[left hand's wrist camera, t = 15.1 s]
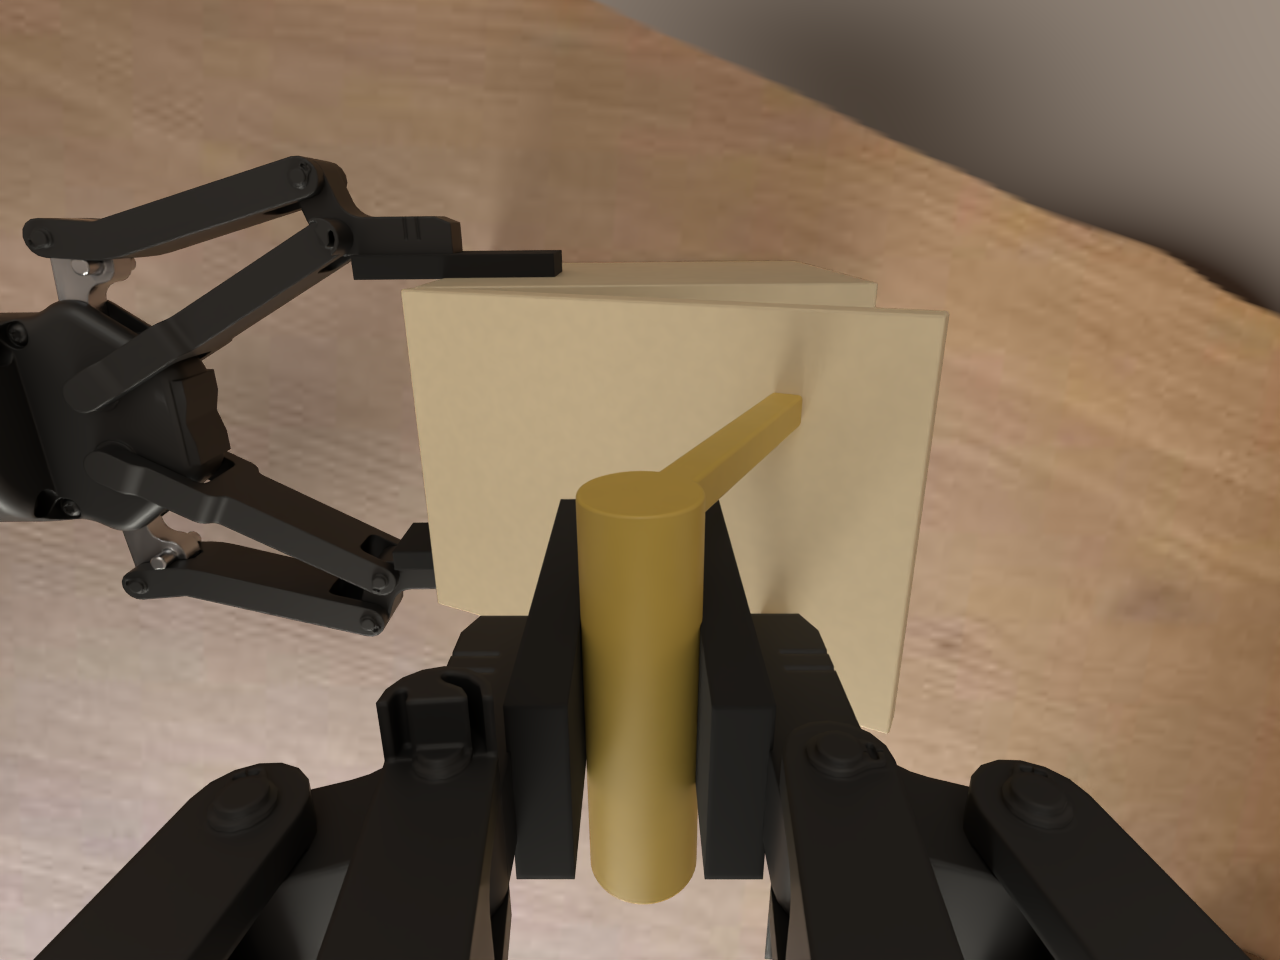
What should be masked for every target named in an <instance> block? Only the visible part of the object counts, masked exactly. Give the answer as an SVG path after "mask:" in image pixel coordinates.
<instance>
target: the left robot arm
mask: <svg viewBox="0 0 1280 960" xmlns="http://www.w3.org/2000/svg"><path fill="white" fill-rule="evenodd" d="M376 707H377V713H378V720H379V726H380V733H381V739H382V746H383V752H384V759H385V762H384V765H383V768H381V769H379V770H377V771H375V772H373V773H371V774H369V775H366V776H362V777H359V778H356V779H353V780H349V781H345V782H341V783H337V784H332V785H328V786H324V787H320V788H315V789H311V788H310V783H309V779H308V778H307V777H306V776H305V774H304V773H303V772H302V771H301V770H300V769H299V768H297V767H294V766H290V765H287V764H284V763H259V764H256V765H252V766H248V767H245V768H241V769H237V770H234V771H232V772H230V773H228V774H226V775H224V776H222V777H220V778H218V779H216V780H214V781H212V782H210V783H209V784H208V785H207V786H205V787H204V788H203V789H202V790H200V791H199V792H198V793H197V794H195V795H194V796H193V797H192V798H190V799H189V800H188V801H187V802H186V804H185V805H184V806H183V807H182V808H181V809H180V810H179V811H178V812H177V813H176V814H175V815H174V816H173V817H172V818H171V819H170V820H169V821H168V822H167V823H166V824H165V825H164V826H163V827H162V828H161V829H160V830H159V831H158V832H157V833H156V834H155V835H154V836H153V837H152V838H151V839H150V840H149V841H148V843H147V844H146V845H145V846H144V847H143V848H142V849H141V850H140V851H139V852H138V853H137V854H136V855H135V856H134V857H133V858H132V859H131V860H130V861H129V862H128V863H127V864H126V865H125V866H124V867H123V868H122V869H121V870H120V871H119V872H118V873H117V874H116V875H115V876H114V877H113V878H112V879H111V880H110V882H109V883H108V884H107V885H106V886H105V887H104V888H103V889H102V890H101V891H100V892H99V893H98V894H97V895H96V896H95V897H94V898H93V899H92V900H91V901H90V902H89V903H88V904H87V905H86V906H85V907H84V908H83V909H82V910H81V911H80V912H79V913H78V914H77V915H76V916H75V917H74V918H73V919H72V921H71V922H70V923H69V924H68V925H67V926H66V927H65V928H64V929H63V930H62V931H61V932H60V933H59V934H58V935H57V936H56V937H55V938H54V939H53V940H52V941H51V942H50V943H49V944H48V945H47V946H46V947H45V948H44V949H43V950H42V951H41V952H40V953H39V954H38V955H37V956H36V957H35V958H34V960H508V950H509V939H510V927H511V916H512V914H511V902H510V891H509V881H510V876H511V871H512V865H513V860H514V855H515V864H516V877H517V879H575V871H576V861H577V850H578V840H579V830H580V820H581V809H582V799H583V789H584V779H585V768H586V736H585V712H584V688H583V664H582V640H581V616H580V592H579V568H578V544H577V520H576V499H560V503H559V507H558V510H557V514H556V517H555V521H554V524H553V528H552V532H551V535H550V539H549V542H548V546H547V550H546V553H545V557H544V560H543V564H542V567H541V571H540V575H539V578H538V582H537V585H536V589H535V592H534V596H533V600H532V603H531V607H530V610H529V614H528V616H480V617H479V618H477V619H476V620H475V621H474V622H473V623H472V624H471V625H469V626H468V627H467V628H466V629H465V630H464V631H462V632H461V634H460V636H459V639H458V641H457V643H456V646H455V648H454V650H453V656H451V657H450V660H449V662H448V664H447V666H443V667H437V668H431V669H425V670H421V671H418V672H416V673H413V674H411V675H408V676H406V677H403V678H401V679H400V680H398V681H397V682H396V683H394V684H393V685H391V686H390V687H388V688H387V689H386V690H385V691H384V693H383V694H382V695H381V697H380V698H379V700H378V701H377V702H376ZM695 785H696V795H697V805H698V815H699V826H700V836H701V846H702V856H703V866H704V877H705V879H763V870H764V857H765V855H766V860H767V865H768V870H769V875H770V880H771V891H770V902H769V914H768V926H767V938H766V949H765V959H772V960H1263V959H1261V958H1260V957H1257V956H1255V955H1253V954H1250V953H1247V952H1244V951H1242V950H1241V949H1240V948H1239V947H1238V946H1237V945H1236V944H1235V943H1234V942H1233V941H1232V940H1231V939H1230V938H1229V937H1228V936H1227V935H1226V934H1225V933H1224V932H1223V931H1222V930H1221V929H1220V928H1219V927H1218V925H1217V924H1216V923H1215V922H1214V921H1213V920H1212V919H1211V918H1210V917H1209V916H1208V915H1207V914H1206V913H1205V912H1204V911H1203V910H1202V909H1201V908H1200V907H1199V906H1198V905H1197V904H1196V903H1195V902H1194V901H1193V900H1192V899H1191V898H1190V897H1189V896H1188V895H1187V894H1186V893H1185V892H1184V891H1183V890H1182V889H1181V888H1180V887H1179V886H1178V885H1177V884H1176V883H1175V882H1174V881H1173V880H1172V879H1171V878H1170V877H1169V876H1168V875H1167V873H1166V872H1165V871H1164V870H1163V869H1162V868H1161V867H1160V866H1159V865H1158V864H1157V863H1156V862H1155V861H1154V860H1153V859H1152V858H1151V857H1150V856H1149V855H1148V854H1147V853H1146V852H1145V851H1144V850H1143V849H1142V848H1141V847H1140V846H1139V845H1138V844H1137V843H1136V842H1135V841H1134V840H1133V839H1132V838H1131V837H1130V836H1129V835H1128V834H1127V833H1126V832H1125V831H1124V830H1123V829H1122V828H1121V827H1120V826H1119V825H1118V824H1117V823H1116V822H1115V820H1114V819H1113V818H1112V817H1111V816H1110V815H1109V814H1108V813H1107V812H1106V811H1105V810H1104V809H1103V808H1102V807H1101V806H1100V805H1099V804H1098V803H1097V802H1096V801H1095V800H1094V799H1093V798H1092V797H1091V796H1090V795H1089V794H1088V793H1086V792H1085V791H1084V790H1083V789H1081V788H1080V787H1079V786H1077V785H1076V784H1075V783H1074V782H1072V781H1071V780H1070V779H1068V778H1066V777H1064V776H1062V775H1060V774H1058V773H1056V772H1054V771H1052V770H1050V769H1048V768H1046V767H1043V766H1039V765H1036V764H1032V763H1028V762H1025V761H1021V760H996V761H993V762H989V763H986V764H983V765H981V766H980V767H979V768H978V769H977V770H976V771H975V773H974V774H973V775H972V776H971V780H970V785H969V787H968V786H964V785H960V784H955V783H951V782H947V781H943V780H938V779H934V778H930V777H926V776H923V775H920V774H917V773H913V772H910V771H908V770H906V769H904V768H902V767H900V766H898V765H897V764H896V761H895V759H894V758H893V756H892V754H891V753H890V751H889V750H888V748H887V746H886V745H885V744H883V743H882V742H881V741H880V740H878V739H877V738H876V737H875V736H873V735H872V734H871V733H869V732H867V731H865V730H862V729H861V728H860V725H859V723H858V721H857V718H856V716H855V714H854V711H853V709H852V707H851V704H850V702H849V700H848V698H847V695H846V693H845V691H844V688H843V686H842V684H841V681H840V679H839V677H838V674H837V672H836V671H834V665H833V663H832V660H831V658H830V656H829V654H827V649H826V647H825V644H824V642H823V640H822V637H821V635H820V633H819V630H817V629H816V628H815V627H814V626H813V625H812V624H810V623H809V622H808V621H807V620H806V619H805V618H803V617H802V616H801V615H800V614H799V613H750V609H749V606H748V602H747V598H746V595H745V591H744V588H743V584H742V581H741V577H740V573H739V570H738V566H737V563H736V559H735V555H734V552H733V548H732V545H731V541H730V538H729V534H728V530H727V527H726V523H725V520H724V516H723V512H722V509H721V505H720V502H719V500H718V501H717V502H716V503H715V504H713V505H712V506H711V507H710V508H709V509H708V510H707V511H706V512H705V541H704V580H703V618H702V623H701V625H700V648H699V680H698V712H697V744H696V776H695Z"/></svg>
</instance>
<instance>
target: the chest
mask: <svg viewBox="0 0 1280 960" xmlns="http://www.w3.org/2000/svg"><path fill="white" fill-rule="evenodd" d="M877 286H878V285H877V283H876V282H872V281H868V280H865V279H861V278H857V277H853V276H850V275H846V274H842V273H839V272H835V271H831V270H827V269H824V268H820V267H816V266H813V265H809V264H805V263H801V262H797V261H712V262H595V263H562V272H561V273H560V274H558V275H557V276H556V277H522V278H443V279H440V280H437V281H433V282H430V283H427V284H424V285H421V286H418V287H429V288H451V289H473V290H495V291H518V292H540V293H562V294H584V295H607V296H629V297H651V298H673V299H695V300H718V301H740V302H762V303H784V304H807V305H829V306H851V307H873V308H875V305H876V295H877ZM418 287H416V288H418Z"/></svg>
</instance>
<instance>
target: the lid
mask: <svg viewBox="0 0 1280 960" xmlns="http://www.w3.org/2000/svg"><path fill="white" fill-rule="evenodd" d="M401 296H402V305H403V313H404V321H405V330H406V338H407V347H408V355H409V363H410V372H411V380H412V388H413V397H414V405H415V414H416V422H417V430H418V439H419V447H420V455H421V464H422V472H423V481H424V489H425V497H426V506H427V514H428V523H429V531H430V539H431V548H432V556H433V564H434V573H435V581H436V590H437V598H438V603H439V604H442V605H446V606H449V607H452V608H456V609H459V610H463V611H466V612H470V613H473V614H477V615H480V616H528V614H529V610H530V607H531V603H532V600H533V596H534V592H535V589H536V585H537V582H538V578H539V575H540V571H541V567H542V564H543V560H544V557H545V553H546V550H547V546H548V542H549V539H550V535H551V532H552V528H553V524H554V521H555V517H556V514H557V510H558V507H559V503H560V499H576V520H577V544H578V568H579V592H580V616H581V640H582V664H583V688H584V712H585V736H586V760H587V784H588V808H589V832H590V855H591V867H592V871H593V873H594V876H595V878H596V879H597V881H598V882H599V884H600V885H601V886H602V887H603V888H604V889H605V890H606V891H607V892H608V893H609V894H611V895H612V896H614V897H616V898H618V899H620V900H622V901H625V902H629V903H634V904H653V903H658V902H662V901H664V900H667V899H669V898H671V897H673V896H675V895H676V894H677V893H679V892H680V891H681V890H682V889H683V888H684V887H685V886H686V885H687V884H688V882H689V881H690V879H691V877H692V875H693V873H694V871H695V867H696V855H697V816H698V805H697V795H696V785H695V776H696V744H697V712H698V680H699V648H700V625H701V623H702V618H703V580H704V541H705V512H706V511H707V510H708V509H709V508H710V507H711V506H712V505H713V504H715V503H716V502H717V501H718V500H719V502H720V505H721V509H722V512H723V516H724V520H725V523H726V527H727V530H728V534H729V538H730V541H731V545H732V548H733V552H734V555H735V559H736V563H737V566H738V570H739V573H740V577H741V581H742V584H743V588H744V591H745V595H746V598H747V602H748V606H749V609H750V613H799V614H800V615H801V616H802V617H803V618H805V619H806V620H807V621H808V622H809V623H810V624H812V625H813V626H814V627H815V628H816V629H817V630H819V633H820V635H821V637H822V640H823V642H824V644H825V647H826V649H827V654H829V656H830V658H831V660H832V663H833V665H834V671H836V672H837V674H838V677H839V679H840V681H841V684H842V686H843V688H844V691H845V693H846V695H847V698H848V700H849V702H850V704H851V707H852V709H853V711H854V714H855V716H856V718H857V721H858V723H859V725H860V726H861V727H865V728H868V729H872V730H875V731H878V732H882V733H885V734H888V733H889V731H890V728H891V724H892V720H893V717H894V711H895V703H896V696H897V689H898V682H899V675H900V667H901V660H902V653H903V646H904V638H905V631H906V624H907V617H908V609H909V602H910V595H911V588H912V581H913V573H914V566H915V559H916V552H917V544H918V537H919V530H920V523H921V516H922V508H923V501H924V494H925V487H926V479H927V472H928V465H929V458H930V451H931V443H932V436H933V429H934V422H935V414H936V407H937V400H938V393H939V386H940V378H941V371H942V364H943V357H944V349H945V342H946V335H947V328H948V321H949V312H948V311H940V310H918V309H896V308H873V307H851V306H829V305H807V304H784V303H762V302H740V301H718V300H695V299H673V298H651V297H629V296H607V295H584V294H562V293H540V292H518V291H495V290H473V289H451V288H429V287H418V288H409V289H403V290H401Z"/></svg>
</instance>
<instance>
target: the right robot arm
mask: <svg viewBox="0 0 1280 960" xmlns="http://www.w3.org/2000/svg"><path fill="white" fill-rule="evenodd" d="M300 210H302V211H303V213H304V215H305V217H306V219H307V221H308V223H309V225H308V226H307V227H305V228H304V229H302V230H301V231H299V232H298V233H296V234H295V235H293V236H292V237H290V238H289V239H287V240H286V241H284V242H283V243H281V244H280V245H278V246H277V247H275V248H274V249H272V250H271V251H269V252H268V253H266V254H265V255H263V256H262V257H261V258H259V259H258V260H256V261H255V262H253V263H252V264H250V265H249V266H247V267H246V268H244V269H243V270H241V271H240V272H238V273H237V274H235V275H234V276H232V277H231V278H229V279H228V280H226V281H225V282H223V283H222V284H220V285H219V286H217V287H216V288H214V289H213V290H211V291H210V292H208V293H207V294H205V295H204V296H202V297H201V298H199V299H198V300H196V301H195V302H193V303H192V304H190V305H189V306H187V307H186V308H184V309H183V310H181V311H180V312H178V313H177V314H175V315H174V316H172V317H170V318H168V319H166V320H164V321H162V322H159V323H157V324H155V325H153V326H151V325H149V324H147V323H146V322H144V321H143V320H141V319H139V318H138V317H136V316H134V315H133V314H131V313H130V312H128V311H126V310H125V309H123V308H121V307H120V306H118V305H117V304H115V303H113V302H111V301H109V300H107V299H106V293H107V289H108V288H109V286H110V285H111V284H113V283H114V282H119V281H123V280H125V279H127V278H128V277H129V276H130V274H131V271H132V270H134V269H135V267H136V261H135V259H134V258H136V257H148V256H157V255H162V254H166V253H170V252H173V251H176V250H179V249H182V248H185V247H188V246H192V245H195V244H198V243H201V242H204V241H207V240H210V239H213V238H216V237H220V236H223V235H226V234H229V233H232V232H235V231H238V230H241V229H244V228H247V227H251V226H254V225H257V224H260V223H263V222H266V221H269V220H272V219H275V218H278V217H282V216H285V215H288V214H291V213H294V212H297V211H300ZM23 239H24V241H25V244H26V245H27V246H28V248H29V249H30V250H31V251H32V252H34V253H35V254H37V255H38V256H41V257H45V258H50V260H51V265H52V270H53V274H54V279H55V284H56V289H57V294H58V299H59V301H58V302H55V303H53V304H51V305H50V306H48V307H47V308H46V309H44V310H43V311H41V312H34V313H0V522H35V521H60V520H71V519H88V520H92V521H96V522H99V523H101V524H104V525H106V526H108V527H110V528H113V529H116V530H122V531H123V533H124V536H125V539H126V541H127V544H128V547H129V550H130V552H131V555H132V558H133V561H134V563H135V568H134V569H132V570H131V571H130V572H128V573H127V574H126V575H125V576H124V577H123V580H122V585H123V588H124V590H125V591H126V593H128V594H129V595H130V596H132V597H134V598H136V599H155V598H168V597H181V596H189V597H193V598H198V599H202V600H207V601H211V602H216V603H220V604H225V605H229V606H234V607H238V608H243V609H247V610H252V611H256V612H261V613H265V614H270V615H274V616H279V617H283V618H288V619H292V620H297V621H301V622H306V623H310V624H315V625H319V626H324V627H328V628H333V629H337V630H342V631H346V632H351V633H355V634H360V635H364V636H376V635H379V634H380V633H381V632H382V631H383V630H384V628H385V626H386V625H387V623H388V621H389V620H390V618H391V617H392V615H393V613H394V612H395V610H396V608H397V607H398V605H399V603H400V602H401V600H402V598H403V591H404V590H408V589H436V581H435V573H434V564H433V556H432V548H431V539H430V531H429V523H413V524H412V525H411V527H410V528H409V529H408V531H407V532H406V533H405V535H404V536H403V538H402V539H401V540H400V539H398V538H396V537H394V536H391V535H389V534H387V533H385V532H383V531H381V530H379V529H377V528H374V527H372V526H370V525H368V524H366V523H364V522H362V521H359V520H357V519H355V518H353V517H351V516H349V515H347V514H344V513H342V512H340V511H338V510H336V509H334V508H332V507H330V506H327V505H325V504H323V503H321V502H319V501H317V500H315V499H312V498H310V497H308V496H306V495H304V494H302V493H300V492H298V491H295V490H293V489H291V488H289V487H287V486H285V485H283V484H280V483H278V482H276V481H274V480H272V479H270V478H268V477H265V476H263V475H262V474H260V473H259V470H258V467H257V466H256V465H254V464H252V463H251V462H249V461H246V460H244V459H242V458H240V457H238V456H236V455H234V454H232V453H229V452H227V451H228V450H230V449H231V448H230V443H229V439H228V434H227V430H226V428H225V426H224V424H223V422H222V419H221V417H220V415H219V413H218V411H217V397H218V387H217V383H216V378H215V373H214V369H206V367H205V365H204V364H203V362H202V360H203V359H205V358H206V357H208V356H210V355H211V354H213V353H214V352H216V351H217V350H219V349H220V348H222V347H223V346H225V345H226V344H228V343H229V342H231V341H232V338H234V337H235V336H237V335H238V334H240V333H241V332H243V331H244V330H246V329H247V328H249V327H250V326H252V325H254V324H255V323H257V322H258V321H260V320H261V319H263V318H264V317H266V316H267V315H269V314H270V313H272V312H274V311H275V310H277V309H278V308H280V307H281V306H283V305H284V304H286V303H287V302H289V301H290V300H292V299H294V298H295V297H297V296H298V295H300V294H301V293H303V292H304V291H306V290H307V289H309V288H310V287H312V286H314V285H315V284H317V283H318V282H320V281H321V280H323V279H324V278H326V277H327V276H329V275H331V274H332V273H334V272H335V271H337V270H338V269H340V268H341V267H343V266H344V265H346V264H347V263H349V262H352V269H353V276H354V280H381V279H443V278H522V277H556V276H557V275H558V274H560V273H561V272H562V250H522V251H463V249H462V238H461V227H460V222H457V221H455V220H452V219H450V218H447V217H445V216H418V217H372V216H369V215H366V214H364V213H363V212H361V211H360V210H359V209H358V208H357V207H356V205H355V204H354V202H353V200H352V198H351V196H350V194H349V192H348V190H347V179H346V175H345V173H344V172H343V170H342V169H341V168H340V167H339V166H338V165H337V164H335V163H332V162H328V161H323V160H318V159H312V158H307V157H302V156H290V157H287V158H284V159H281V160H278V161H275V162H272V163H269V164H266V165H263V166H260V167H257V168H254V169H251V170H248V171H245V172H242V173H239V174H236V175H233V176H230V177H227V178H224V179H221V180H217V181H214V182H211V183H208V184H205V185H202V186H199V187H196V188H193V189H190V190H187V191H184V192H181V193H178V194H175V195H172V196H169V197H166V198H163V199H160V200H157V201H154V202H151V203H148V204H145V205H142V206H139V207H136V208H133V209H130V210H127V211H124V212H120V213H117V214H114V215H111V216H108V217H105V218H102V219H96V218H35V219H30V220H29V221H28V222H26V223H25V225H24V227H23ZM207 479H208V480H211V481H209V482H207V483H204V482H205V481H206V480H207ZM169 510H170V511H172V512H174V513H176V514H178V515H181V516H183V517H185V518H187V519H190V520H192V521H195V522H198V523H204V524H206V523H218V524H221V525H223V526H225V527H227V528H230V529H232V530H234V531H236V532H238V533H241V534H243V535H245V536H247V537H250V538H252V539H254V540H256V541H258V542H261V543H263V544H265V545H267V546H269V547H272V548H274V549H276V550H278V551H281V552H283V553H285V554H287V555H289V556H292V557H294V558H292V557H287V556H283V555H279V554H274V553H270V552H266V551H261V550H257V549H253V548H248V547H244V546H240V545H235V544H230V543H224V542H212V541H210V542H201V536H200V535H199V534H198V533H197V532H194V531H193V532H189V533H186V532H180V531H175V530H173V529H171V528H170V527H168V526H167V525H166V524H165V523H164V521H163V519H162V516H163V515H164V514H166V513H167V512H168V511H169Z"/></svg>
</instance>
